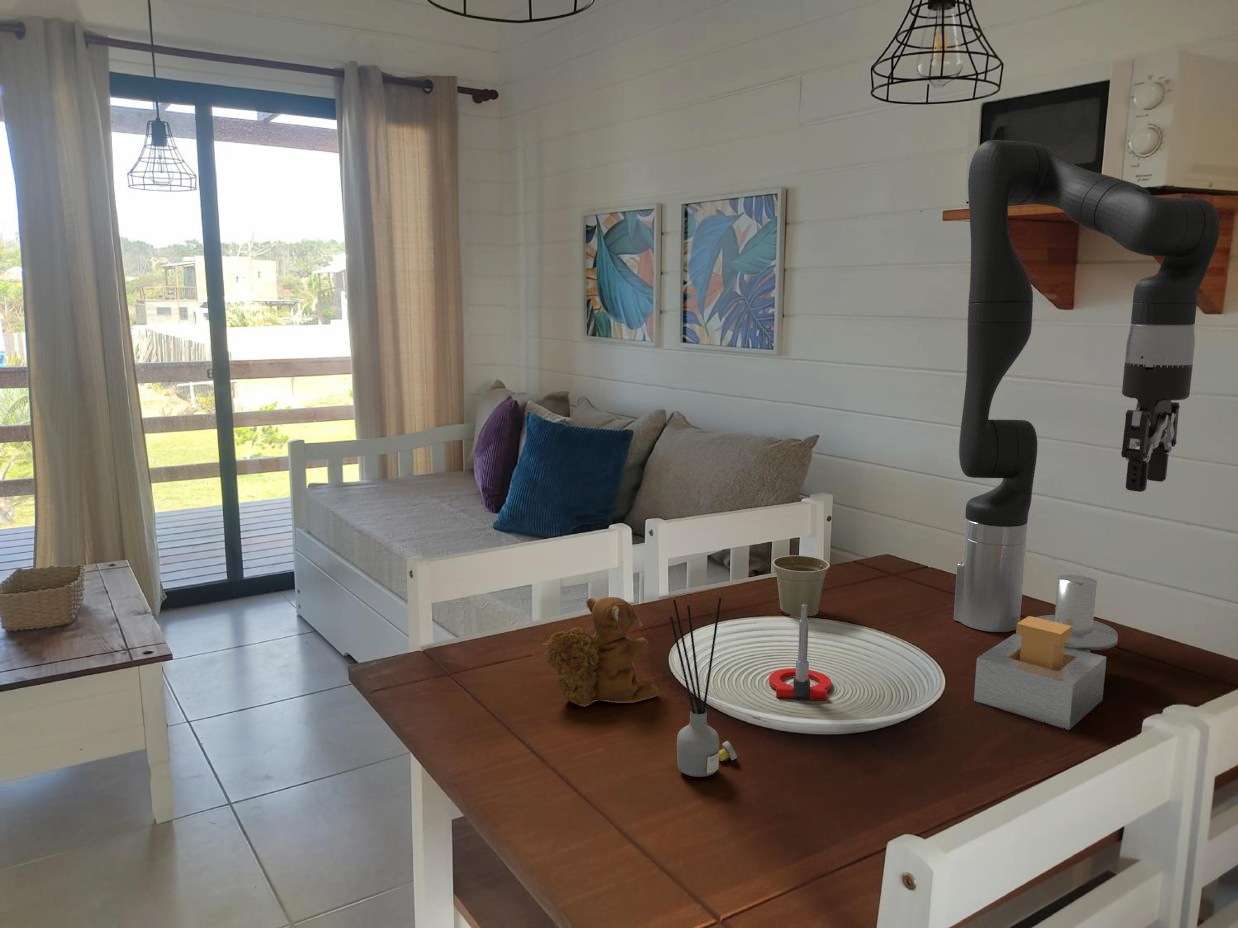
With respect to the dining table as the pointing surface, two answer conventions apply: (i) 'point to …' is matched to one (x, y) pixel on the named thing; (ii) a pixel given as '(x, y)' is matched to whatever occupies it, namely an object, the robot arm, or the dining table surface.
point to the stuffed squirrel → (600, 656)
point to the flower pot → (800, 582)
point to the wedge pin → (1043, 642)
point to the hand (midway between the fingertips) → (1145, 485)
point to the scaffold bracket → (1043, 689)
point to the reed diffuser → (698, 720)
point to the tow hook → (801, 672)
